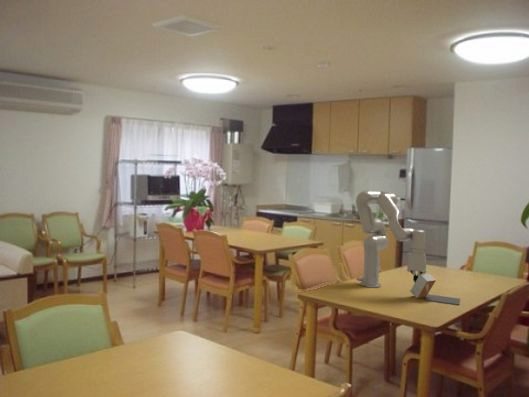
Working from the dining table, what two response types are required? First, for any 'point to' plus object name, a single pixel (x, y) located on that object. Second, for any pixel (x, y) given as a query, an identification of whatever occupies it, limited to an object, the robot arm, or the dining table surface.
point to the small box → (422, 285)
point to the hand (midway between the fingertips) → (416, 282)
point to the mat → (442, 299)
